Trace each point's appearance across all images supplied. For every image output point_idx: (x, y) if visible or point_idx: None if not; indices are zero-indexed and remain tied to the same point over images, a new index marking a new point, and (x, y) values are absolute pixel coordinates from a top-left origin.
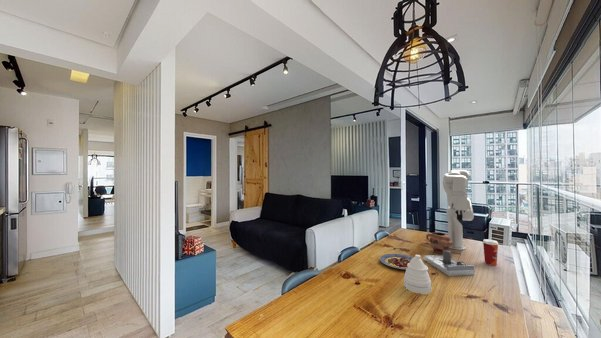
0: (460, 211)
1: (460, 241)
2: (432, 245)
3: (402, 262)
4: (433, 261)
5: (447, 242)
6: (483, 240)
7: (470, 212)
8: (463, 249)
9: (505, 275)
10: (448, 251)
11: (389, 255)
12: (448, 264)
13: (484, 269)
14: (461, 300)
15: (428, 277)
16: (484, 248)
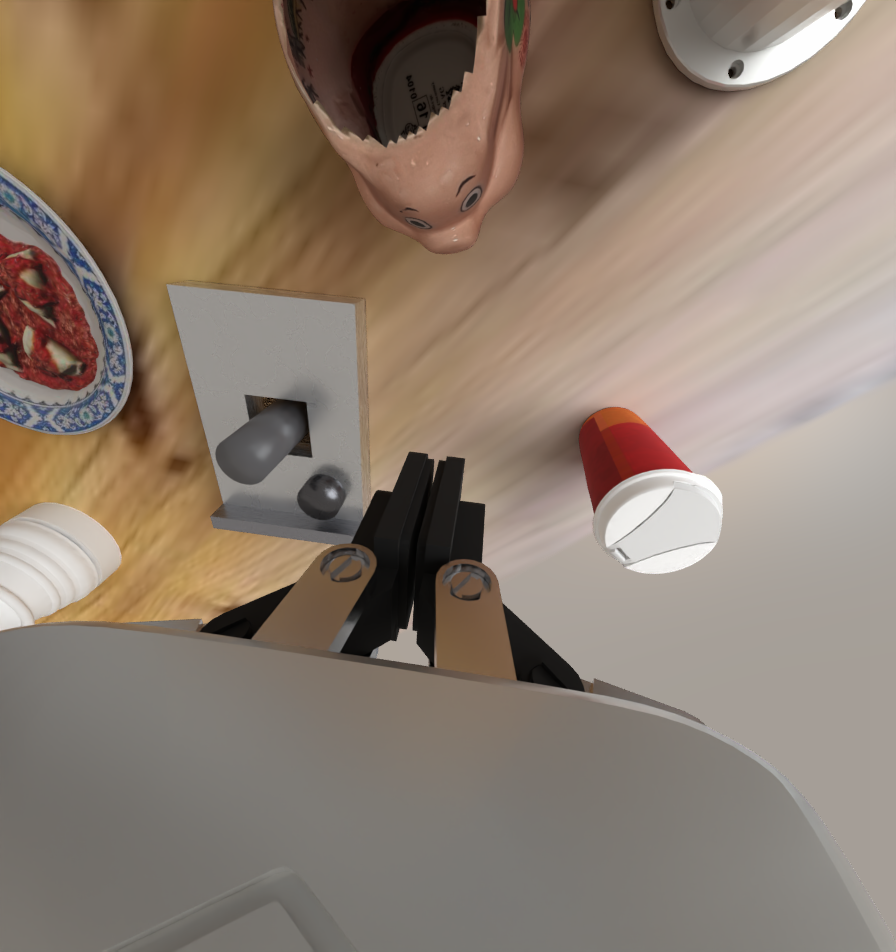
0: (471, 654)
1: (802, 13)
2: (331, 64)
3: (18, 319)
4: (197, 401)
5: (409, 234)
6: (621, 502)
7: None
8: (753, 87)
9: (513, 553)
10: (250, 468)
11: None
12: None
13: (479, 487)
14: (196, 617)
15: (62, 607)
16: (595, 475)
